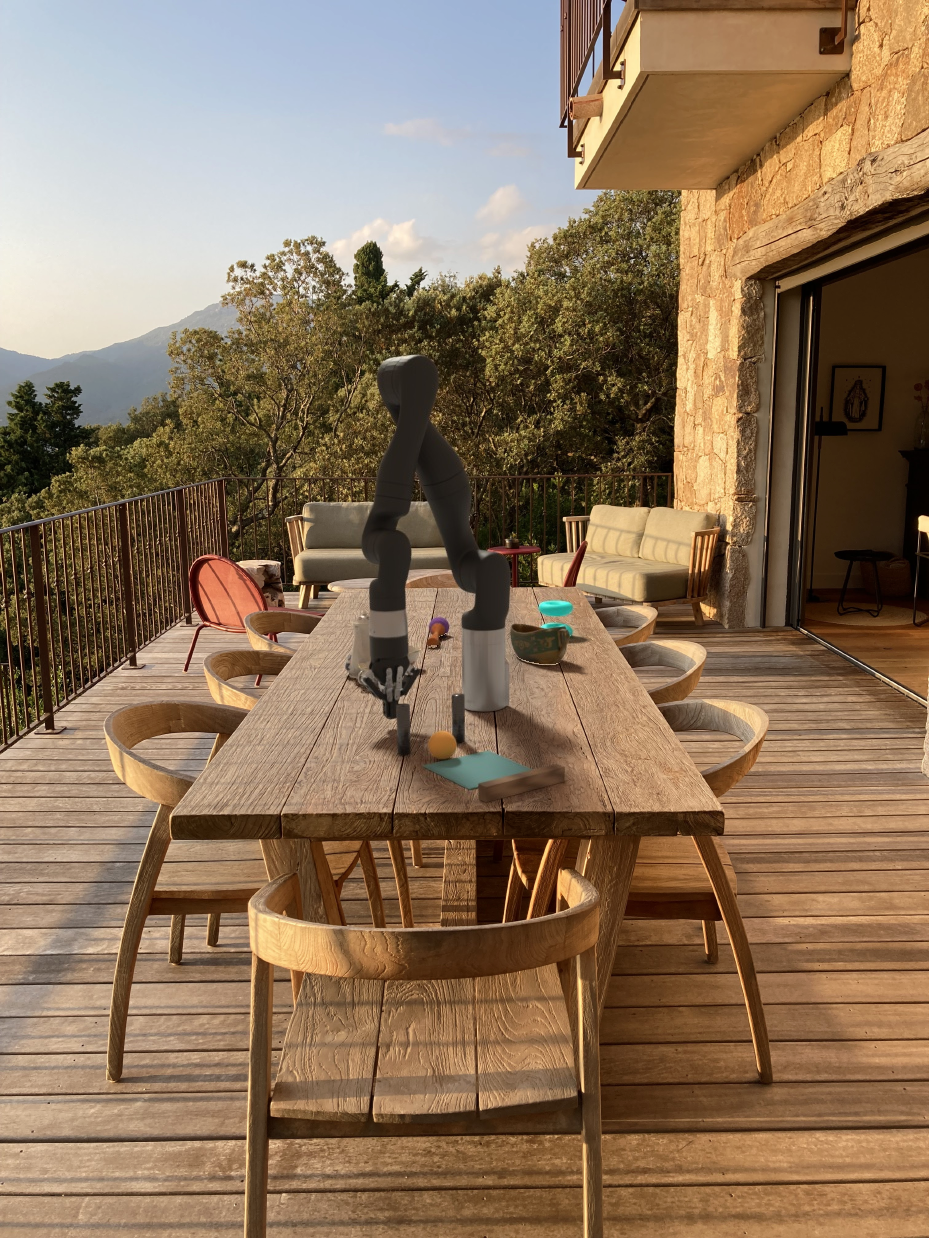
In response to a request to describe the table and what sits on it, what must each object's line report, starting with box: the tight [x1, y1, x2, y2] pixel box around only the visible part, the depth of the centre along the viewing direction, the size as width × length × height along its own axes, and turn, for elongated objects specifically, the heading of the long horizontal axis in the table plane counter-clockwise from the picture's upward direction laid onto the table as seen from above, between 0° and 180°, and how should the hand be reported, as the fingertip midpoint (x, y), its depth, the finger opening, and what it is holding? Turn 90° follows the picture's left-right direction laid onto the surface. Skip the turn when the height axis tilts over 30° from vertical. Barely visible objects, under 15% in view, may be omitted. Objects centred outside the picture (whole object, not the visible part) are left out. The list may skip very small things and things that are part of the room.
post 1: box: [396, 702, 412, 757], centre depth 169 cm, size 2×2×9 cm
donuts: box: [538, 600, 574, 636], centre depth 273 cm, size 10×10×10 cm
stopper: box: [477, 763, 566, 803], centre depth 151 cm, size 16×2×2 cm, turn 125°
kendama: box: [426, 616, 450, 647], centre depth 268 cm, size 6×6×20 cm
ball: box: [427, 730, 458, 760], centre depth 166 cm, size 5×5×5 cm
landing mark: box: [422, 750, 533, 791], centre depth 161 cm, size 14×14×1 cm
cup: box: [509, 623, 571, 664], centre depth 242 cm, size 13×20×10 cm, turn 7°
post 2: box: [451, 692, 466, 744], centre depth 175 cm, size 2×2×9 cm
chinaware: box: [344, 609, 422, 688], centre depth 226 cm, size 28×17×17 cm, turn 167°
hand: (391, 718), depth 185 cm, fingers closed
